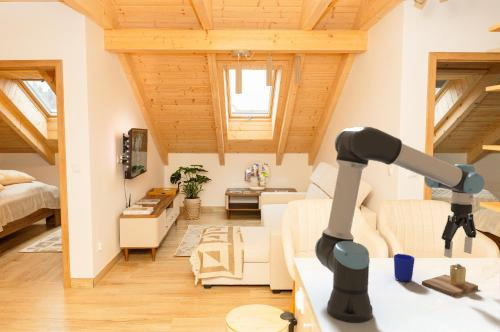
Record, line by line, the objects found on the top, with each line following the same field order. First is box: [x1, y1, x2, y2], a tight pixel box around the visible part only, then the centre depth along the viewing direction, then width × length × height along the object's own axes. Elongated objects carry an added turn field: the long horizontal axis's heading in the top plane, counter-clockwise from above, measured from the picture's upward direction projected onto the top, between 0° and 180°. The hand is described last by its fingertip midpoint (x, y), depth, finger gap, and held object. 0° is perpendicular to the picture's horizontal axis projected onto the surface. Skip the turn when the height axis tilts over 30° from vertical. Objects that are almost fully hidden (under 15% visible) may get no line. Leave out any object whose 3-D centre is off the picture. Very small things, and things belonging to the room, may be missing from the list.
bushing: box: [449, 264, 467, 287], centre depth 154 cm, size 5×5×7 cm
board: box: [421, 274, 479, 298], centre depth 155 cm, size 16×14×2 cm
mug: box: [393, 253, 416, 283], centre depth 164 cm, size 8×12×10 cm
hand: (458, 254), depth 154 cm, fingers open, 13 cm apart
